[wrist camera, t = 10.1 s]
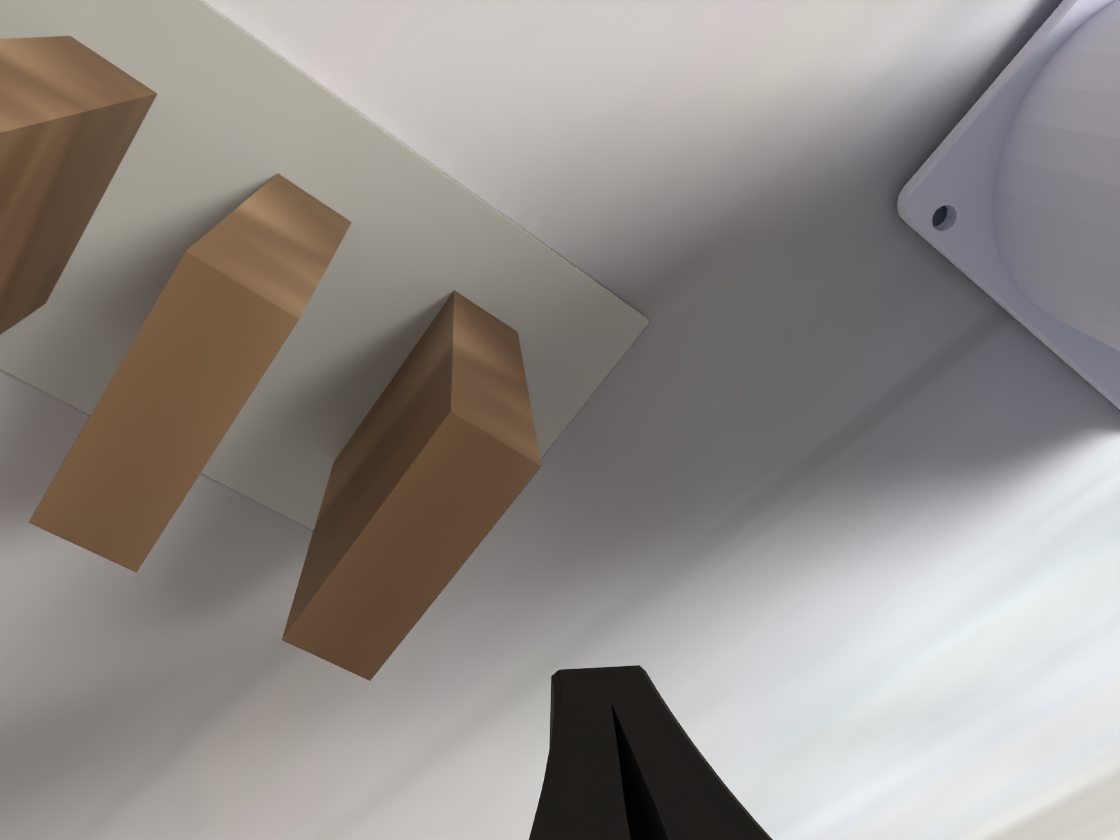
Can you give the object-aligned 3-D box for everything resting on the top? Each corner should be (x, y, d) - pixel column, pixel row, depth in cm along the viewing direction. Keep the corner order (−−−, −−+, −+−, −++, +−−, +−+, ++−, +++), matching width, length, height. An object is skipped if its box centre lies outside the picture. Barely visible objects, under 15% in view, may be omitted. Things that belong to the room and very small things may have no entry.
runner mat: (648, 318, 18) (650, 321, 18) (434, 588, 21) (433, 593, 21) (-633, -594, 11) (-651, -604, 11) (-734, -19, 14) (-750, -19, 13)
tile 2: (352, 222, 17) (299, 319, 11) (233, 406, 18) (136, 572, 13) (278, 173, 16) (185, 251, 11) (161, 367, 18) (28, 522, 12)
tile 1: (517, 331, 18) (541, 466, 13) (395, 496, 19) (369, 680, 14) (454, 290, 18) (451, 411, 12) (333, 462, 19) (281, 639, 13)
